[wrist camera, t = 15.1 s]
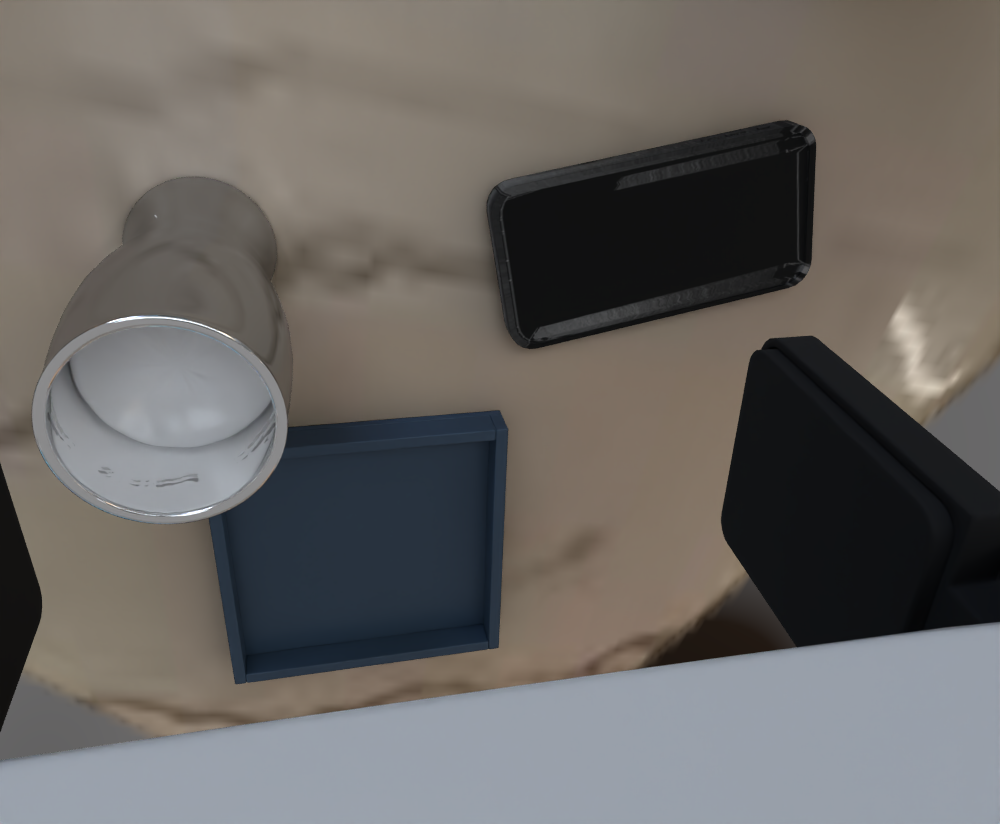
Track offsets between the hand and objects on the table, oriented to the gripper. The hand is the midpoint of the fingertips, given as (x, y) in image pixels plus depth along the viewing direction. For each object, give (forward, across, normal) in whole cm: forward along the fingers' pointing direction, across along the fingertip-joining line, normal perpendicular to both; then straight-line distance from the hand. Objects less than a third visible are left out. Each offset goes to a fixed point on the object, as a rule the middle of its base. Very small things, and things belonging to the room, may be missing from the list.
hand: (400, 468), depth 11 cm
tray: (+28, 0, +22) cm, 36 cm away
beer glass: (+28, +6, +6) cm, 29 cm away
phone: (+28, -14, +7) cm, 32 cm away
